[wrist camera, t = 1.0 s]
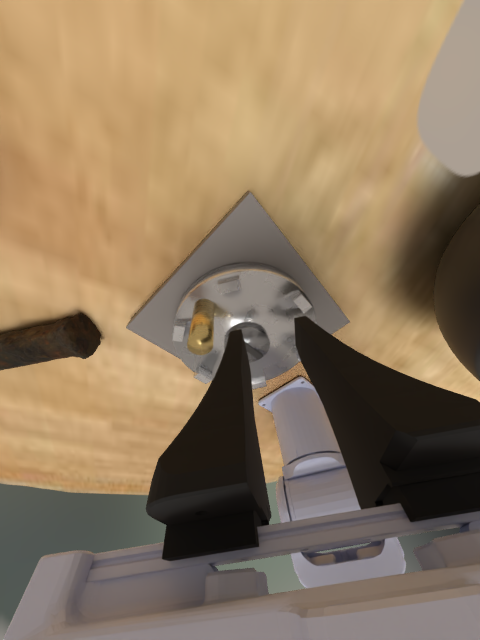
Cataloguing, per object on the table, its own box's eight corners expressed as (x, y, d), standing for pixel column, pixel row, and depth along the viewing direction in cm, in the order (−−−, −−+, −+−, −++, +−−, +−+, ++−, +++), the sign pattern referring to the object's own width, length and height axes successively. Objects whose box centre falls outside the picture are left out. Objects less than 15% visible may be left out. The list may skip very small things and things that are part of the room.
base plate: (343, 313, 23) (351, 323, 21) (238, 383, 28) (240, 394, 27) (247, 190, 15) (251, 192, 14) (131, 318, 21) (125, 328, 19)
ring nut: (332, 324, 21) (370, 374, 16) (240, 384, 26) (246, 439, 20) (249, 226, 15) (266, 254, 10) (147, 329, 19) (121, 386, 14)
